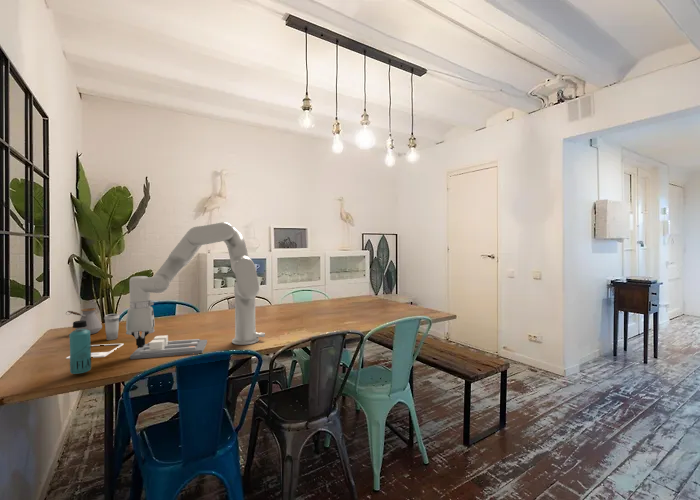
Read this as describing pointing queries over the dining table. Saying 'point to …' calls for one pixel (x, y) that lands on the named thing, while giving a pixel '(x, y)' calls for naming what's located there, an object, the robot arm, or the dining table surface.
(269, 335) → the dining table surface
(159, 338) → the switch tab
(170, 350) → the switch panel
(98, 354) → the photo frame
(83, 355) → the beverage bottle
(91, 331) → the coffee pot
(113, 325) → the cup
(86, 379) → the dining table surface
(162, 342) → the switch tab
